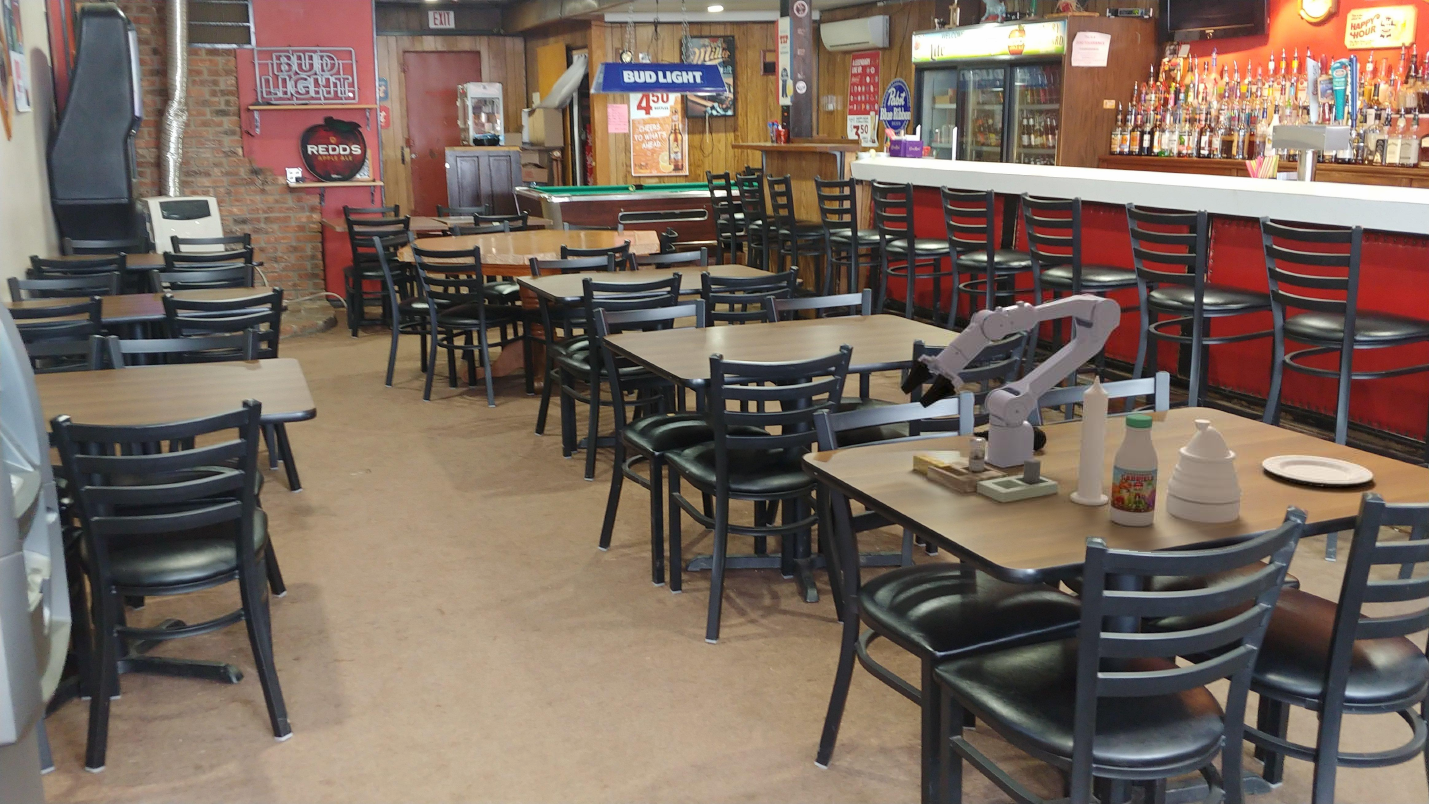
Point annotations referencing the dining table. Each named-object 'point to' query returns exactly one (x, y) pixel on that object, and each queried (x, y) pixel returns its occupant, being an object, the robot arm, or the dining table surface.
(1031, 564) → the dining table surface
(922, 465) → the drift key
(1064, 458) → the dining table surface
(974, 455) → the glass jar
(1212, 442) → the honey pot
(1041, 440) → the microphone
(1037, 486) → the rack
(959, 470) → the socket block
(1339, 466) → the plate
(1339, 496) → the dining table surface
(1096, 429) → the candle
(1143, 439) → the milk bottle
